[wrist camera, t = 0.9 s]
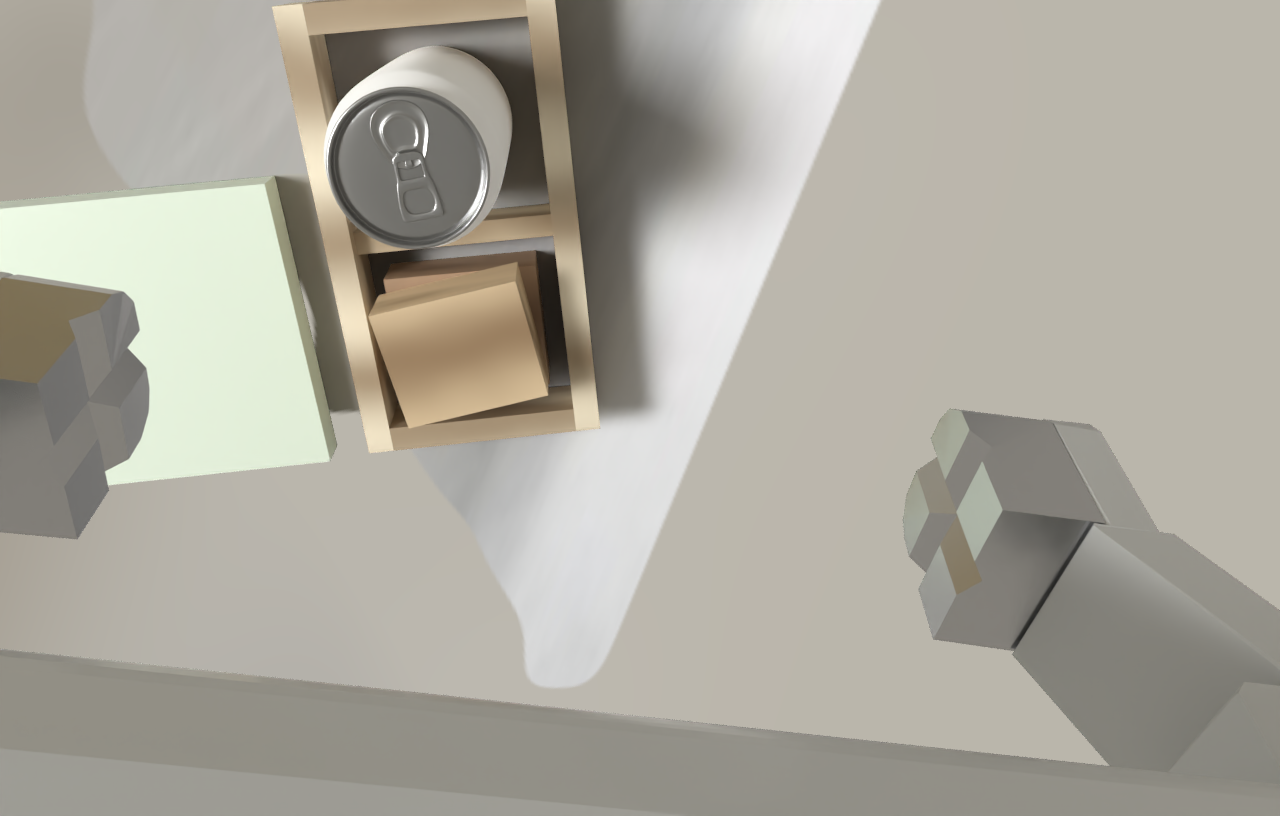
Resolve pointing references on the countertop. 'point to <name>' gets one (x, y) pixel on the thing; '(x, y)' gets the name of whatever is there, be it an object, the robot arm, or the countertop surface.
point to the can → (420, 148)
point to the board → (193, 317)
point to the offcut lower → (447, 268)
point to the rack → (407, 3)
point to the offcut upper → (460, 345)
